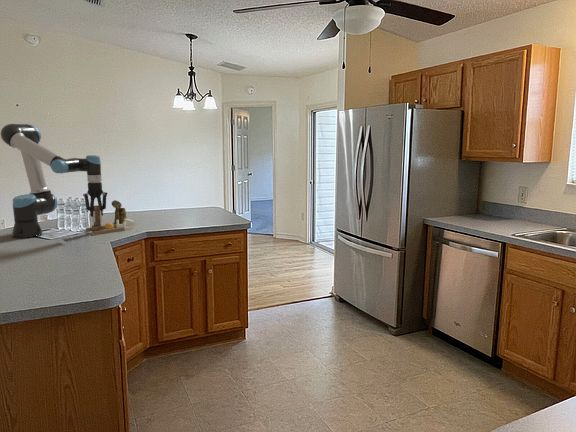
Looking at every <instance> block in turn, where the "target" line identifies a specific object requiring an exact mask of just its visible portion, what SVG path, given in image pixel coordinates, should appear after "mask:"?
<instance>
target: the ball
mask: <svg viewBox="0 0 576 432" xmlns="http://www.w3.org/2000/svg"><path fill="white" fill-rule="evenodd" d="M114 225H115V224H114V223H112V222H106V223H105V224H104V226H105V229H106V230H109V229H113V228H114Z"/></svg>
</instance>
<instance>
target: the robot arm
mask: <svg viewBox="0 0 576 432" xmlns="http://www.w3.org/2000/svg"><path fill="white" fill-rule="evenodd" d="M0 138H1V140H2V141H3V143H5V144H7V145H8V146H9V147H11V148H13V149H17V150H19V152H20V153H21V157H22V160H23V165H24V169H25V173H26V176H27V181H28V183H29V187H30V192H29V193H25V194H20V195H17V196H15V197H14V198H13V199H12V209H13V211H12V212H13V221H14V224H13V228H12V231H11V234H12V236H11V237H12V238H14V239H28V238H27V237H31V238H34V237H33V236H36V235H39V234H42V235H43V230H42V228H41V225H40V223H39V221H38V219H39V218H38V216H41V215H46V214H47V215H48V214H51V213H52V212H54V211H55V210H56V208H57V207H58V204H59V203H58V198H57V197H56V195H55V194H53V193H52V192H51V189H49V188H48V187H47V183H46V179H45V176H44V170H43V167H42V163H44V164H45V165H47V166H48V167H50V168H51V170H52V172H53V173H55V174H66V173H67V174H68V173H74V172H75V173H77V172H84V173H85V172H86V177H87V178H86V179H87V180H86V181H87V192H86V193H83V194H82V195H83V197H84V202H85V209H86V210H87V211H89V215H90V217H91V219H92V220H91V222H93V223H94V222H95V211H93V209H94V206H95V200H96V201H97V204H98V206H100V219H101V222H102V221H103V220H102V217H103V216H104V210H106V209H107V196H108V192H105V191H103V184H102V162H101V156H99V155H96V154H95V155H91V154H90V155H89V154H88V155H86V156H85V158H79V157H70V158H63V157H61V156H60V155H58V154H56V153H54V152H53V151H51V150H49V149H47V148H45V147H44V146H43V145H40V144H39V143H40V142H41V139H42V133H41V131H40V130H39V128H37V127H36V126H35V125H33V124H28V123H19V124H18V123H8V124H6V125H4V126H3V127H2V128H1V130H0ZM41 162H42V163H41ZM89 196H90V199H89ZM101 197H102V198H101Z"/></svg>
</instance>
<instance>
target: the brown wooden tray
mask: <svg viewBox="0 0 576 432" xmlns="http://www.w3.org/2000/svg"><path fill="white" fill-rule="evenodd" d="M124 220H125V222H123V224H119V220H116V224H113V225H114V228H113V229H109V230H106V229H105V225H102V226H103V230H101V231H94V232H93V231H92V226H91V227H86V228H85V232H86V233H89V234H91V235H93V236H95V237H98V236H105V235H111V234H118V233H119V234H121V233H125V232H126V233H127V232H132V231H133V232H138V229H136V223H135V222H136V221H135V220H133V219H129V218H127V219H124Z"/></svg>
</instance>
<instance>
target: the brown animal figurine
mask: <svg viewBox="0 0 576 432" xmlns="http://www.w3.org/2000/svg"><path fill="white" fill-rule="evenodd" d="M111 206H112V207H113V208H114V209H115V210H114V221H113V225H115V224H116V220H119V224H123V222H125V220H124V219H128V218H127V217H128V216H127V211H126V208H125V207H122V202H120V201H118V200H112V202H111ZM116 225H117V224H116Z"/></svg>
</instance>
